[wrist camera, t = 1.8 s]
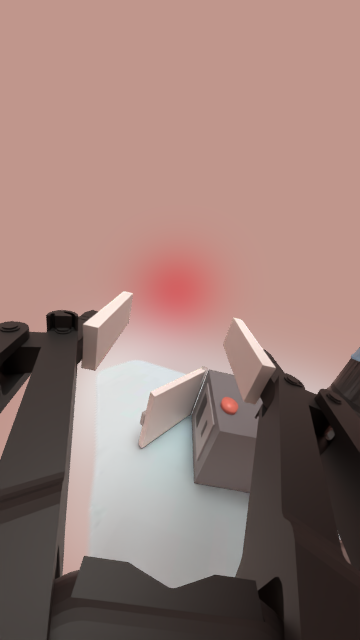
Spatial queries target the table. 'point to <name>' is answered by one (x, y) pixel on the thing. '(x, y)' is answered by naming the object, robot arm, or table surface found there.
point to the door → (170, 405)
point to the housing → (224, 434)
